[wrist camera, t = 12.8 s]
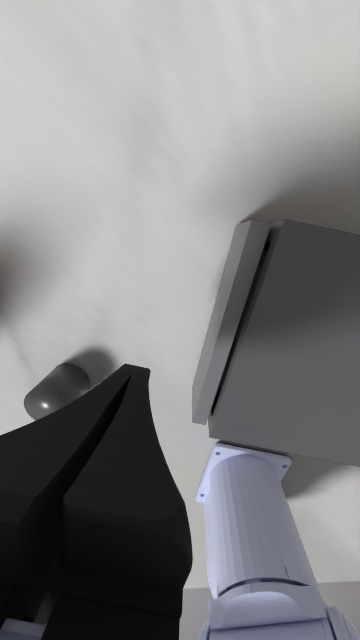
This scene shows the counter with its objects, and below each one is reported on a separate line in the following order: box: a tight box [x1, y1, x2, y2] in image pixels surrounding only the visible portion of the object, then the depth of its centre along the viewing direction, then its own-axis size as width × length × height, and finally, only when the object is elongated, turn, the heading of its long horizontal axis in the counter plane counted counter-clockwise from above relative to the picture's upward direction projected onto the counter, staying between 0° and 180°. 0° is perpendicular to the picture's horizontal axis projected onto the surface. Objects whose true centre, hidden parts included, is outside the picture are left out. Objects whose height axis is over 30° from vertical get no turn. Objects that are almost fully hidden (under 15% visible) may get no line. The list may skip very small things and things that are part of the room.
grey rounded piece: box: [24, 364, 90, 420], centre depth 18 cm, size 4×4×4 cm
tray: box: [192, 220, 271, 425], centre depth 15 cm, size 11×14×4 cm
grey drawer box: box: [208, 219, 360, 467], centre depth 14 cm, size 11×14×5 cm
